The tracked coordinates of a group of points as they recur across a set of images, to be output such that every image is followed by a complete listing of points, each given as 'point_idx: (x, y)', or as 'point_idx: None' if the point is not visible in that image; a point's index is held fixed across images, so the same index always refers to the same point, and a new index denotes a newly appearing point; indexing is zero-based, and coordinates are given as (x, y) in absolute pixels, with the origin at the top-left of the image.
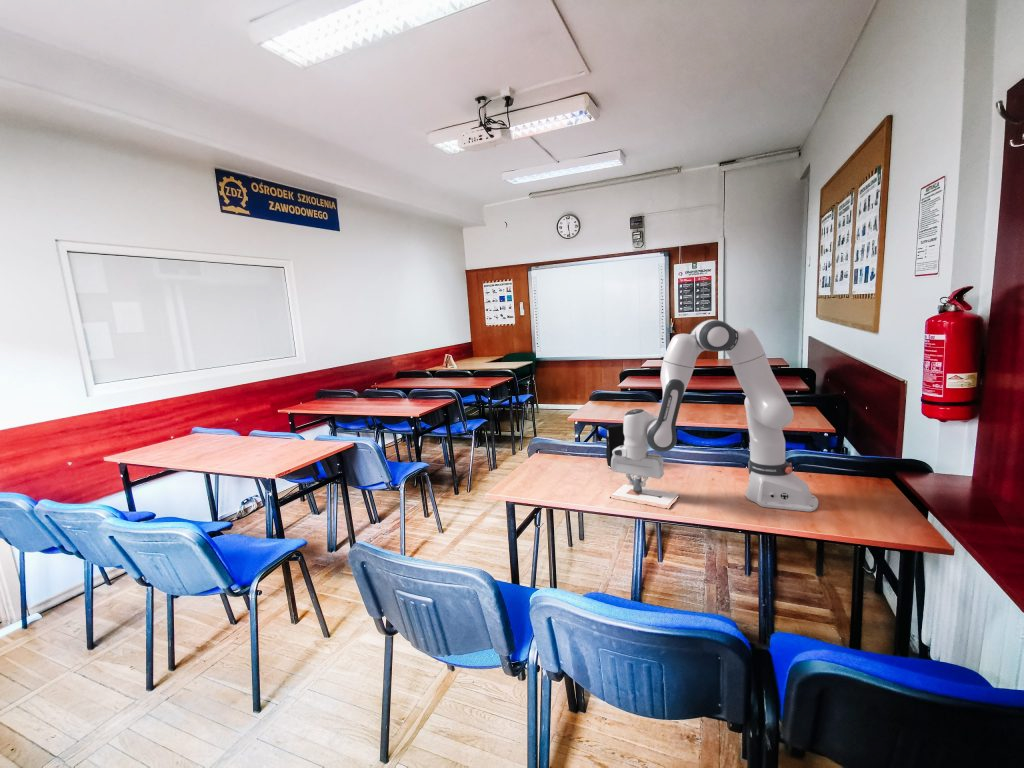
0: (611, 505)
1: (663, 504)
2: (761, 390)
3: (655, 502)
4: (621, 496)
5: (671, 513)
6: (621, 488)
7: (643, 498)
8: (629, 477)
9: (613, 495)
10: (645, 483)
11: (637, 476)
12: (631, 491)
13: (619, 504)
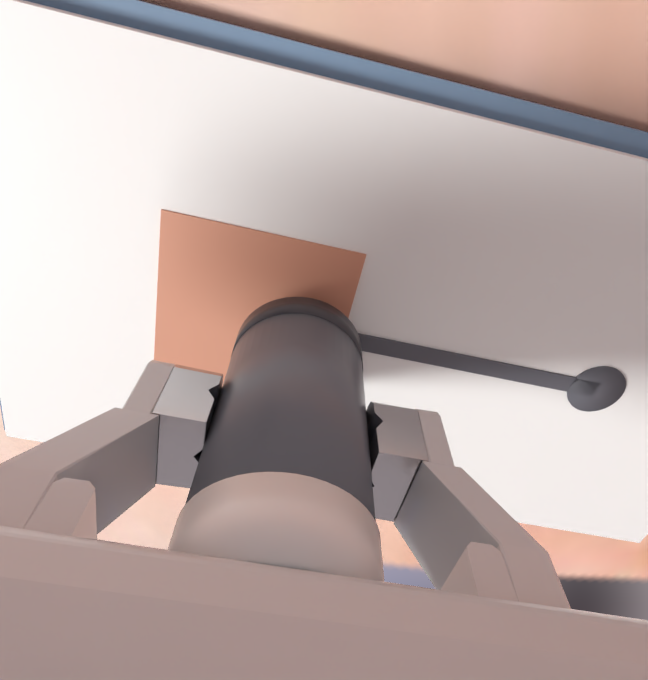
0: (115, 535)
1: (599, 533)
2: None
3: (523, 512)
4: None
5: (631, 566)
6: (8, 218)
7: None
8: (100, 510)
9: (36, 436)
10: (443, 450)
11: None
12: (201, 304)
13: (173, 511)
